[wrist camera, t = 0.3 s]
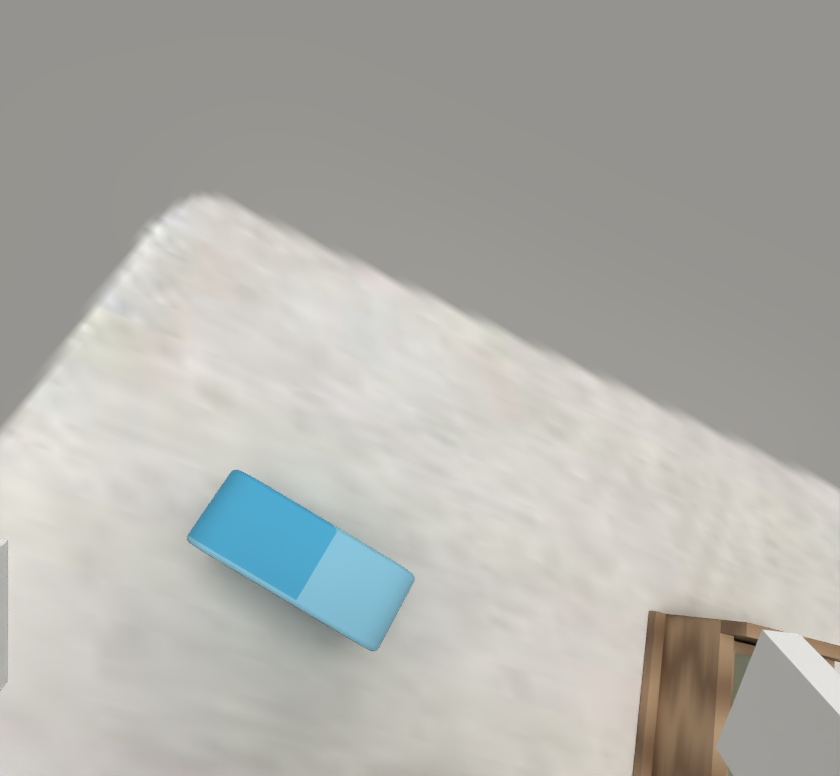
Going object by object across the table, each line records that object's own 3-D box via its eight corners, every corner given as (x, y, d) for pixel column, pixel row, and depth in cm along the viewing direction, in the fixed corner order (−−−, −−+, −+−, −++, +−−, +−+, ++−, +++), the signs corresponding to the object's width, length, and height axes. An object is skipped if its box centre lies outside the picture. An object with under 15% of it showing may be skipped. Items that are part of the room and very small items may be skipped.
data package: (390, 576, 45) (421, 577, 34) (358, 635, 43) (379, 656, 32) (247, 491, 45) (230, 463, 34) (210, 547, 43) (179, 538, 32)
